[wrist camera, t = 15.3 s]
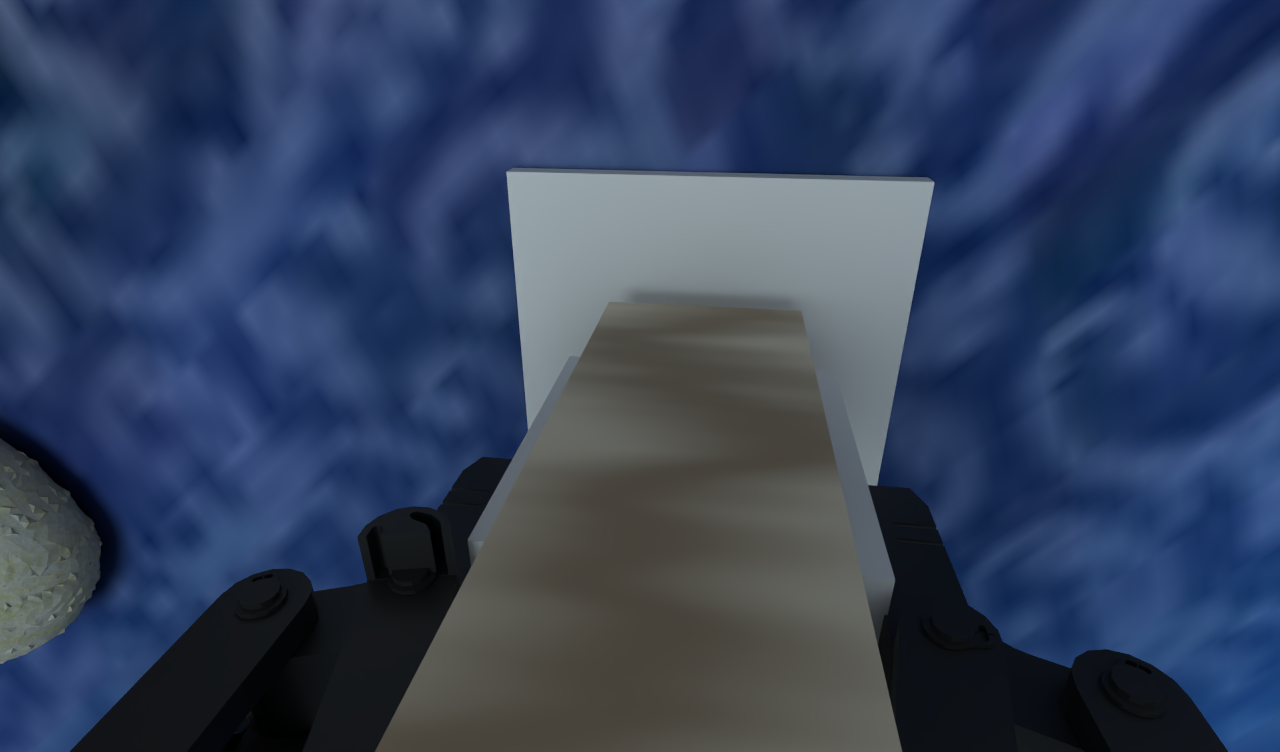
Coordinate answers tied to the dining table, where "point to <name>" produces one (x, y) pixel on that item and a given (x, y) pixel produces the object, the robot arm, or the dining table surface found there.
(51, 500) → the sea urchin shell
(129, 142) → the dining table surface
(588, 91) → the dining table surface
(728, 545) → the beige rectangular block
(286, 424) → the dining table surface
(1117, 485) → the dining table surface
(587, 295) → the mat
